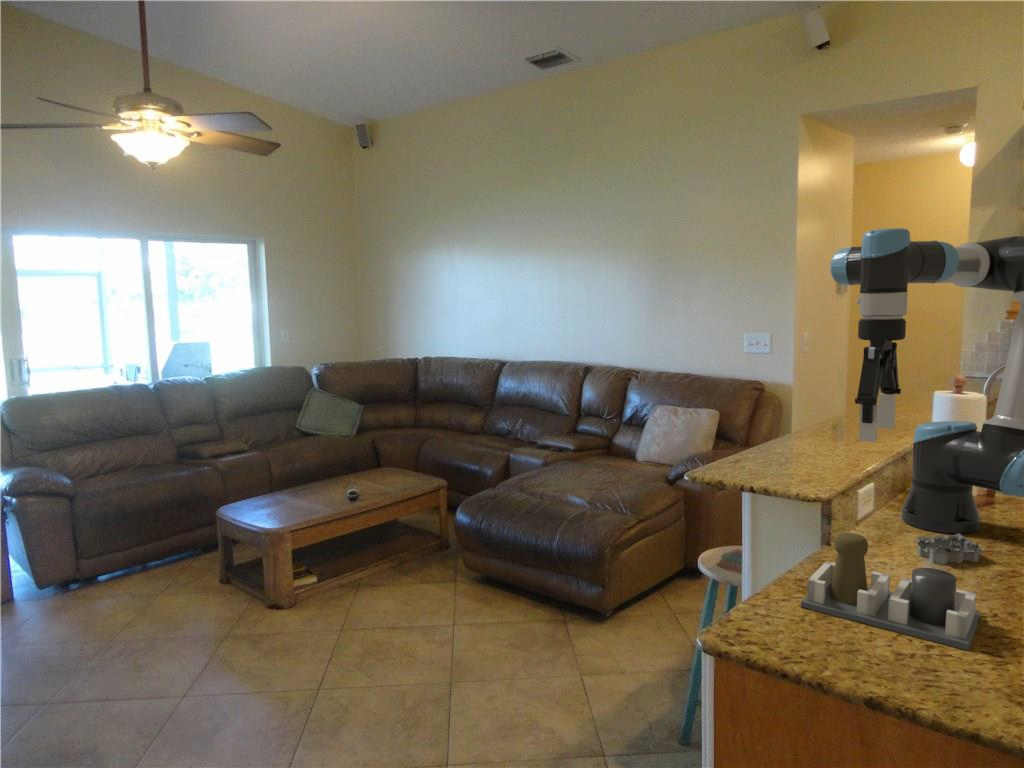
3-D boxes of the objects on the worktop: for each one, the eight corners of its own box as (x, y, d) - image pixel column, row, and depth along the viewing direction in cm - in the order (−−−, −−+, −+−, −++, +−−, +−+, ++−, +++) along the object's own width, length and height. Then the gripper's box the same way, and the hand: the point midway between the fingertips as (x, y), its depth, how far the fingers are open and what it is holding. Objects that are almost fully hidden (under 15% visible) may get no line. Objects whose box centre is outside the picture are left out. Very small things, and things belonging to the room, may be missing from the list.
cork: (871, 606, 116) (873, 542, 114) (831, 602, 118) (833, 539, 116) (866, 592, 121) (868, 530, 120) (828, 587, 123) (830, 527, 122)
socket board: (823, 581, 128) (825, 539, 127) (980, 618, 113) (983, 570, 112) (800, 607, 118) (802, 561, 117) (968, 650, 103) (971, 598, 102)
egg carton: (934, 566, 134) (935, 546, 134) (909, 552, 142) (910, 533, 141) (987, 563, 135) (988, 543, 135) (959, 549, 143) (960, 530, 142)
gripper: (876, 314, 137) (871, 421, 139) (839, 320, 118) (835, 444, 120) (919, 314, 132) (914, 425, 135) (889, 320, 113) (883, 449, 116)
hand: (877, 434), depth 127 cm, fingers open, 13 cm apart
